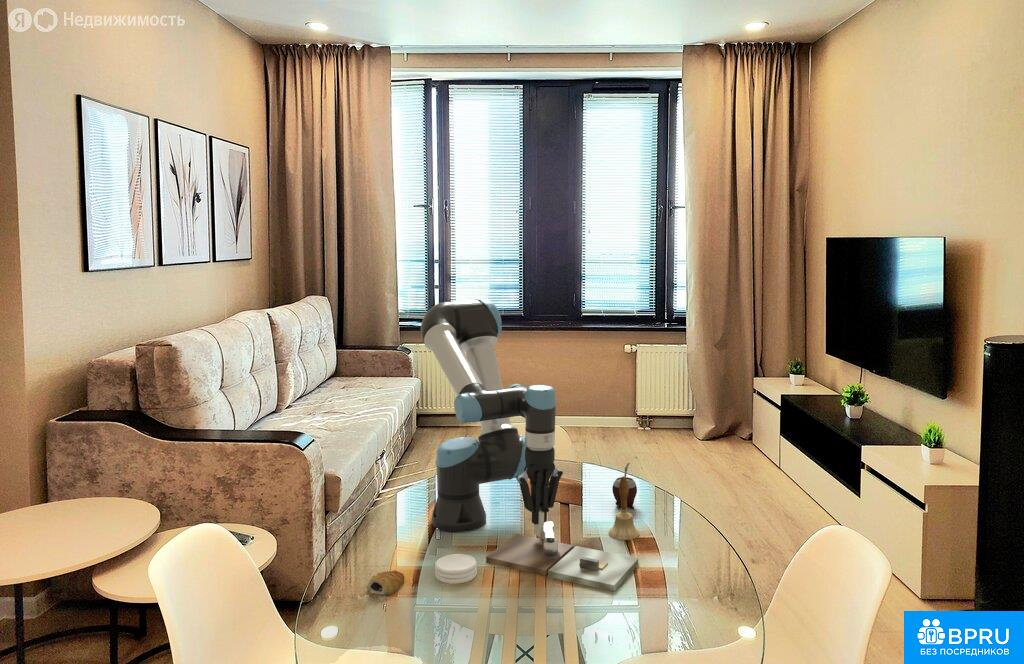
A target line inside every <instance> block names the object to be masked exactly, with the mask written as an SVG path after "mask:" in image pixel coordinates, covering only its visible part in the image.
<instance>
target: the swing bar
mask: <svg viewBox="0 0 1024 664" xmlns="http://www.w3.org/2000/svg"><path fill="white" fill-rule="evenodd" d="M554 529H555V527H554V522H553V521H546V522H545V523H544V537H543V539H544V541H543V553H544V554H545V555H548V556H554V555H557V554H558V542H559V540H558V539H556V538H555V533H554V532H555V531H554Z"/></svg>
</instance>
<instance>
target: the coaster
mask: <svg viewBox="0 0 1024 664" xmlns="http://www.w3.org/2000/svg"><path fill="white" fill-rule="evenodd" d="M477 565H478V564H477V561H476V559H475V557H473V556H471V555H468V554H463V553H454V554H451V553H450V554H447V555H443V556H442V557H440V558H438V559H437V560H436V561H435V563H434V571H435V572H434V575H435V578H436V580H438V581H439V582H441V583H444V584H451V585H457V584H458V583H460V584H464V582H465V583H468V582H470V581H472V580H473V579H475V578H476V576H477V574H478V572H477Z"/></svg>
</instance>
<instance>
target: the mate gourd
mask: <svg viewBox="0 0 1024 664" xmlns="http://www.w3.org/2000/svg"><path fill="white" fill-rule="evenodd" d="M629 466H630V462H628V463H627V464H626V465H625V467H624V477H626V480H627V482H628V486H629V492H628V497H627V509H631V510H634V509H635V507H634V503H635V499H636V496H637V492H638V487H637V484H636V481H635V479H633V478H632V477H627V472H628V467H629ZM621 477H622V476H619V477H617V478H616V479H615V480H614V481H613V484H612V487H611V488H612V495H613V497H614V499H615V501H616V502H614V503H615V505H618V506H617V509H618V510H621V497H620V494H619V483H620V480H621Z"/></svg>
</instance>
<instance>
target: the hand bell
mask: <svg viewBox="0 0 1024 664" xmlns="http://www.w3.org/2000/svg"><path fill="white" fill-rule="evenodd" d="M620 477H621V480H620V483H619V494H620V497H621V509H620V511H619V512H617V513H616V514H615V518H614V523H613V525H612V527H611V528H610V529H609V530H608V533H607V534H608V536H609V537H611V538H613V539H616V540H621V541H631V540H635V539H637V538H638V537H639V536H640V534H641V533H640V531H639V530H638V529H637V528H636V526H635V524H634V517H633V515H632V513H630V512H628V508H627V497H628V492H629V486H628V482H627V480H626V477H627V476H626V477H624V476H620Z"/></svg>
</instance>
